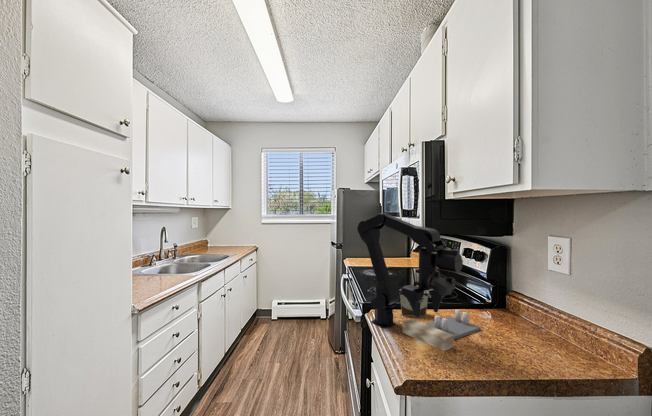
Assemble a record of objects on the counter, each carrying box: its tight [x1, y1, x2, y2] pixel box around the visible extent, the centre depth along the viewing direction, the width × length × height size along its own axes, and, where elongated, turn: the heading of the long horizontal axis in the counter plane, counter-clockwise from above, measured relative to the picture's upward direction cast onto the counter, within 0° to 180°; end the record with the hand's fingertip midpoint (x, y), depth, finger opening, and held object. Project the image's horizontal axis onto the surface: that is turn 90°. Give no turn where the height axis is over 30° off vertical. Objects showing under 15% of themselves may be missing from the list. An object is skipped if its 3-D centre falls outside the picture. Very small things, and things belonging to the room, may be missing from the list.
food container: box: [399, 288, 431, 317], centre depth 123 cm, size 12×6×10 cm, turn 84°
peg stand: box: [425, 309, 482, 340], centre depth 108 cm, size 12×16×5 cm
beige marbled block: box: [401, 318, 454, 352], centre depth 99 cm, size 16×5×4 cm, turn 35°
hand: (426, 314), depth 99 cm, fingers open, 9 cm apart
